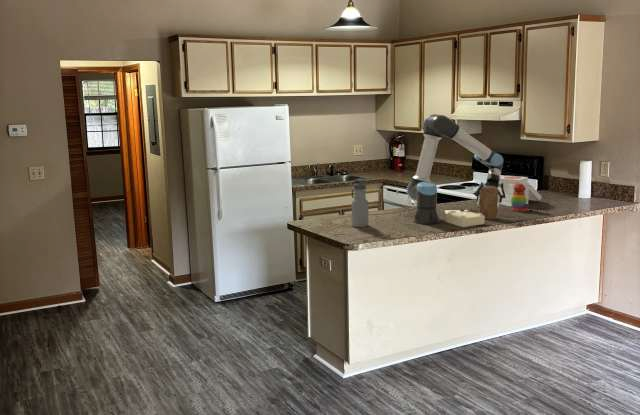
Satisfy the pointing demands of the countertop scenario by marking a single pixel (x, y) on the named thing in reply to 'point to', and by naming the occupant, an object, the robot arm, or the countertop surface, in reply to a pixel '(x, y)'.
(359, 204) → the water bottle
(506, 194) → the white storage box
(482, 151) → the robot arm
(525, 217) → the countertop surface
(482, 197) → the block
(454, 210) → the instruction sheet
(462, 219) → the cream knobbed square piece
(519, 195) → the stacking bear
